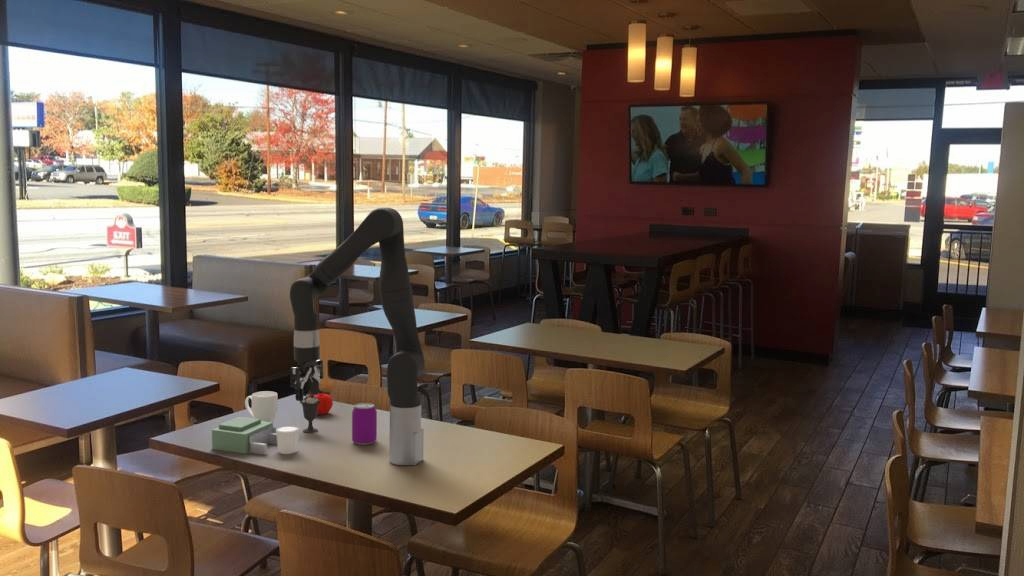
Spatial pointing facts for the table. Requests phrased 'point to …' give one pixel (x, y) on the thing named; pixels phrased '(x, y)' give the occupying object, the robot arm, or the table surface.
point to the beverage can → (364, 424)
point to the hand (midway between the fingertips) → (307, 397)
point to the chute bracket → (261, 441)
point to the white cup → (287, 439)
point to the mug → (263, 405)
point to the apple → (324, 403)
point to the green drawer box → (237, 434)
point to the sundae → (310, 410)
